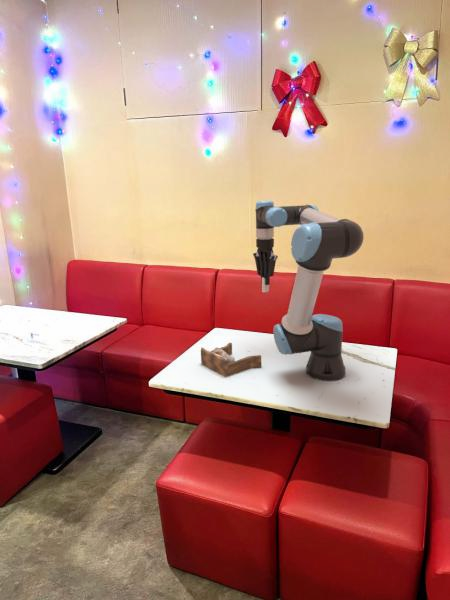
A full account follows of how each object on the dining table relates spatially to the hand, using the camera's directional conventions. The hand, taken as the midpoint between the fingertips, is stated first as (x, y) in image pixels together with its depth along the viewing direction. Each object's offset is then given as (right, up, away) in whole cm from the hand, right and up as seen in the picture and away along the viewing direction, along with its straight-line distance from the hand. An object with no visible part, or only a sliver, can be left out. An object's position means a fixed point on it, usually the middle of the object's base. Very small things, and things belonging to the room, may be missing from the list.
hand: (265, 291), depth 188 cm
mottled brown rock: (-16, -32, -10) cm, 37 cm away
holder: (-16, -31, -10) cm, 36 cm away
